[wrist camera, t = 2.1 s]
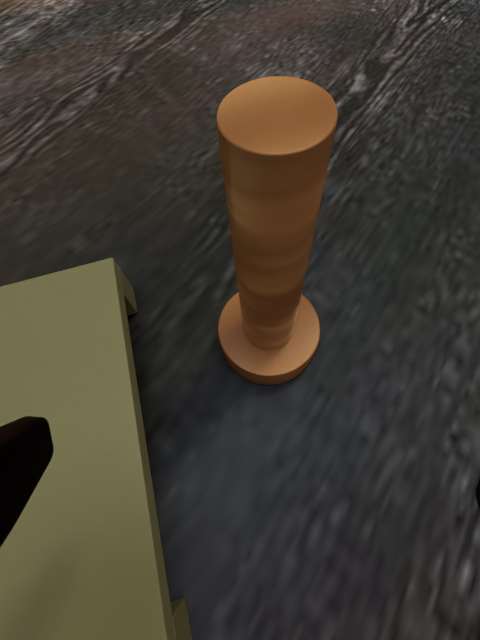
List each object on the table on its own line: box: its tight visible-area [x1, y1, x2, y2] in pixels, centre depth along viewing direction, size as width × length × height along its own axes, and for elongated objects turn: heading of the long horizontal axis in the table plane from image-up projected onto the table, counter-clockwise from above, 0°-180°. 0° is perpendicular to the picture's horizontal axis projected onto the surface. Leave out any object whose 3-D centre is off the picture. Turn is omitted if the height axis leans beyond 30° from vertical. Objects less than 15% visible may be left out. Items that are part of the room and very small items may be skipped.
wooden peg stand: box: [216, 76, 338, 385], centre depth 15 cm, size 6×6×15 cm
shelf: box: [0, 258, 192, 640], centre depth 18 cm, size 20×13×4 cm, turn 16°
